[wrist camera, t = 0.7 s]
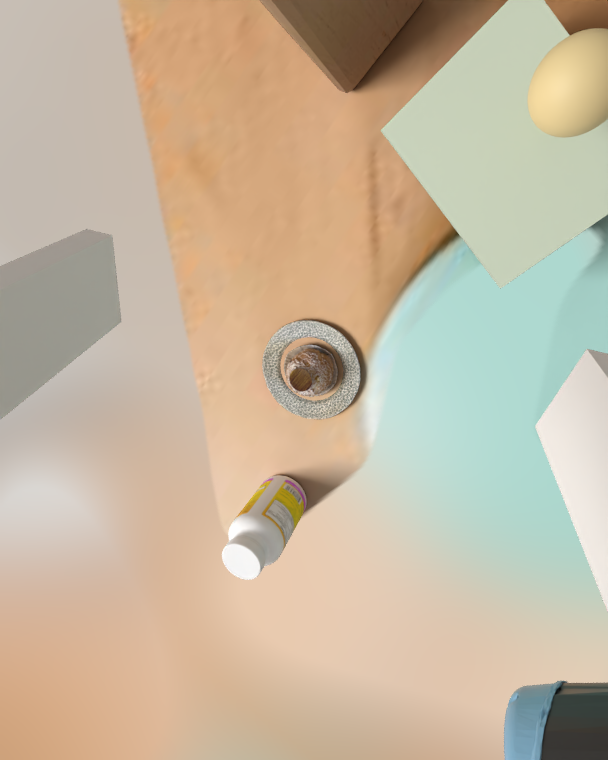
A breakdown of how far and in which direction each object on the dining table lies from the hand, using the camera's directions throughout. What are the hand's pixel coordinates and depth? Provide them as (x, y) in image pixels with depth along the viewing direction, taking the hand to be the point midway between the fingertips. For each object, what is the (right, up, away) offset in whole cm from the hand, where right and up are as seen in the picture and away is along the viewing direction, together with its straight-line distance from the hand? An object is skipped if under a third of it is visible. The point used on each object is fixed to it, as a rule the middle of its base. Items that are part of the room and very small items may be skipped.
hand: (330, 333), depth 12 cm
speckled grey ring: (0, 0, +38) cm, 38 cm away
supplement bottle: (-3, -17, +44) cm, 48 cm away
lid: (+13, +14, +17) cm, 26 cm away
